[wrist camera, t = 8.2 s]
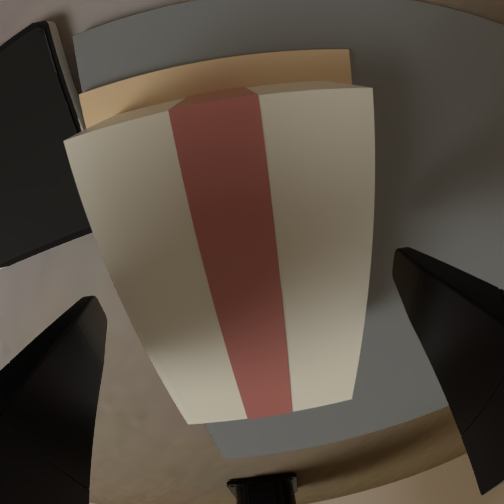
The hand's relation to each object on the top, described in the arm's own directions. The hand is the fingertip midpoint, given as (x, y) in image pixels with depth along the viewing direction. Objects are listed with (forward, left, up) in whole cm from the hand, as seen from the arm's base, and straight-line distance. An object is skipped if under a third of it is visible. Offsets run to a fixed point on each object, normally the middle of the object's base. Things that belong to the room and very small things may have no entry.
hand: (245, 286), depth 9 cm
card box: (0, 0, -2) cm, 2 cm away
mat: (-5, -6, -3) cm, 8 cm away
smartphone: (+4, +12, -4) cm, 13 cm away
